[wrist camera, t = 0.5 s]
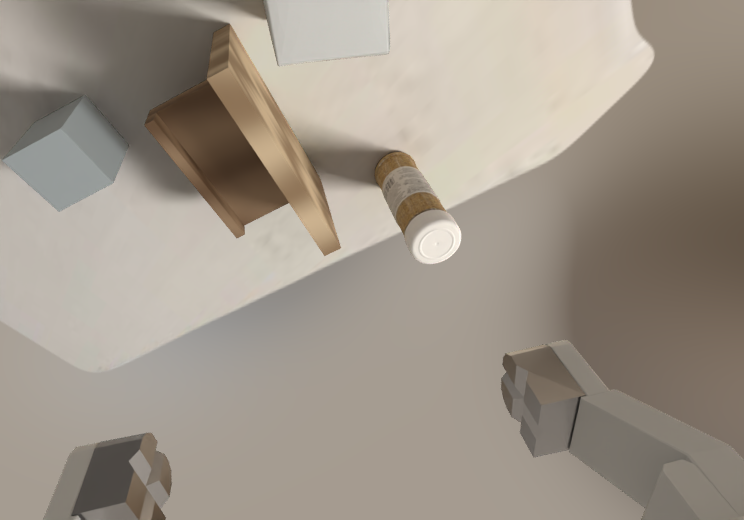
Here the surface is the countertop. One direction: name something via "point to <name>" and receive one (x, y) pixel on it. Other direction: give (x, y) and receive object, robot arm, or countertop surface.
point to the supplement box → (327, 29)
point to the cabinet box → (69, 154)
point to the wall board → (241, 146)
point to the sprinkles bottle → (417, 209)
